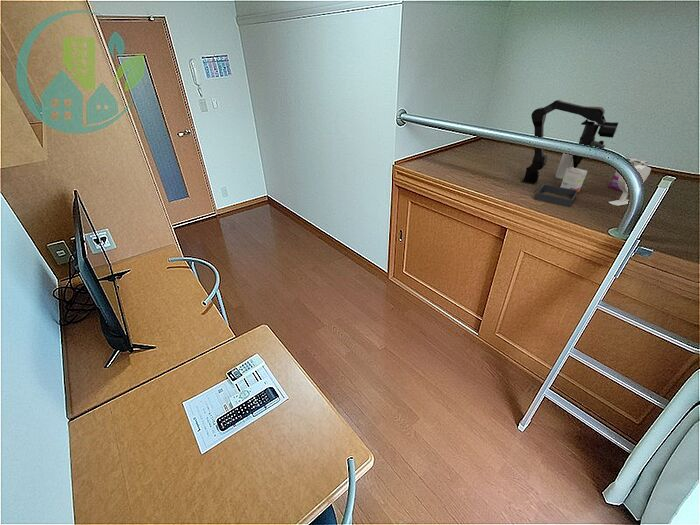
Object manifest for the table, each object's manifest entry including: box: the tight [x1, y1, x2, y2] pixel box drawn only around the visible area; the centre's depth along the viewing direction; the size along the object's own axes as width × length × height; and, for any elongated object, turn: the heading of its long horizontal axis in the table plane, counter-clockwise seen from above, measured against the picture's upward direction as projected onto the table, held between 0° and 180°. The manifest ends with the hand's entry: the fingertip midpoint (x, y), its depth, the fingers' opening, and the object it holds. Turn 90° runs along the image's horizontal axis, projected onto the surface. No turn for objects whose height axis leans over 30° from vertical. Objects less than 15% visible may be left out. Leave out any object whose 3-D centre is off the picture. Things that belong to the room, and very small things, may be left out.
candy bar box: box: [608, 156, 650, 192], centre depth 171 cm, size 11×5×16 cm, turn 21°
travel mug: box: [554, 152, 573, 181], centre depth 186 cm, size 6×7×20 cm
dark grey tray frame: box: [534, 183, 579, 208], centre depth 166 cm, size 16×16×4 cm
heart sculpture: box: [608, 165, 652, 207], centre depth 157 cm, size 16×5×18 cm, turn 110°
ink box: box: [559, 166, 589, 194], centre depth 172 cm, size 9×5×12 cm, turn 30°
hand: (576, 165), depth 170 cm, fingers open, 9 cm apart
